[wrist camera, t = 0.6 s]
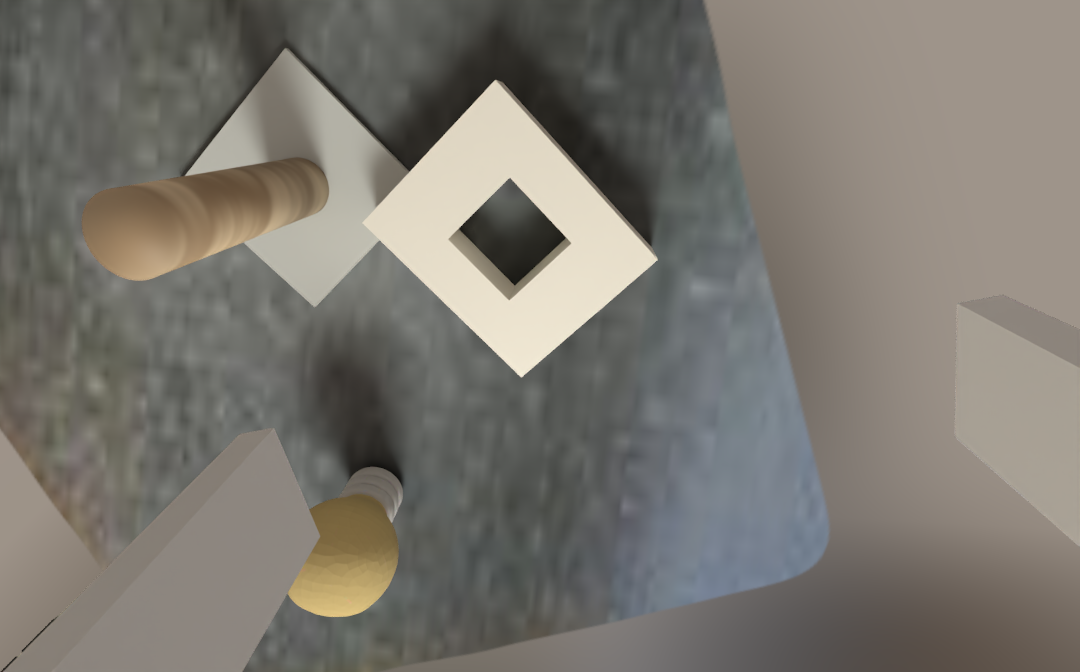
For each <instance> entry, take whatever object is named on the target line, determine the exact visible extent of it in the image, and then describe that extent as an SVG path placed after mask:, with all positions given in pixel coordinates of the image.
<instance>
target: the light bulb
mask: <svg viewBox="0 0 1080 672" xmlns="http://www.w3.org/2000/svg"><path fill="white" fill-rule="evenodd" d="M402 498H403V490H402V486H401V484H400V482H399V480H398V479H397V477H395V476H394V475H393V474H392V473H391V472H389V471H387V470H385V469H382V468H378V467H366V468H363V469H361V470H359V471H357V472H356V473H354V474H353V476H352V477H351V478H350V480H349V481H348V483H347V485H346V486H345V488H344V490H343V492H342V493H341V494H340V496H339V497H338V498H335V499H331V500H328V501H325V502H323V503H320V504H318V505H316V506H314V507H313V508H311V509H309V511H310V513H311V516H312V518H313V520H314V523H315V525H316V527H317V530H318V532H319V534H320V538H319V540H318V541H317V543H316V545H315V546H314V548H313V550H312V552H311V553H310V555H309V557H308V559H307V560H306V562H305V564H304V565H303V567H302V569H301V571H300V572H299V574H298V576H297V578H296V579H295V581H294V583H293V585H292V586H291V588H290V590H289V591H288V594H289V596H290V598H291V599H292V600H293V601H294V602H295V603H296V604H297V605H298V606H300V607H301V608H303V609H305V610H307V611H310V612H312V613H315V614H317V615H322V616H329V617H342V616H351V615H355V614H358V613H360V612H362V611H364V610H366V609H367V608H368V607H370V606H371V605H372V604H373V603H374V602H375V601H376V600H378V599H379V598H380V596H381V595H382V594H383V593H384V591H385V590H386V588H387V587H388V586H389V584H390V582H391V580H392V578H393V575H394V573H395V570H396V567H397V562H398V553H399V550H398V540H397V536H396V532H395V529H394V527H393V525H392V522H393V519H394V517H395V515H396V513H397V511H398V508H399V506H400V504H401V502H402Z"/></svg>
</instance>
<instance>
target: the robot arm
mask: <svg viewBox="0 0 1080 672" xmlns="http://www.w3.org/2000/svg"><path fill="white" fill-rule="evenodd" d="M956 337H957V339H956V341H957V342H956V392H955V393H956V394H955V438H957V439H958V440H959V441H960V442H961V443H962V444H963V445H965V446H966V447H967V448H968V449H969V450H970V451H971V452H972V453H974V454H975V455H976V456H977V457H978V458H979V459H980V460H982V461H983V462H984V463H985V464H986V465H987V466H988V467H989V468H991V469H992V470H993V471H994V472H995V473H997V475H999V476H1000V477H1001V478H1002V479H1003V480H1004V481H1006V482H1007V483H1008V484H1009V485H1010V486H1011V487H1012V488H1013V489H1014V490H1016V491H1017V492H1018V493H1019V494H1020V495H1021V496H1022V497H1024V498H1025V499H1026V500H1027V501H1028V502H1029V503H1030V504H1032V505H1033V506H1034V507H1035V508H1036V509H1037V510H1038V511H1040V512H1041V513H1042V514H1043V515H1044V516H1045V517H1046V518H1047V519H1049V520H1050V521H1051V522H1052V523H1053V524H1054V525H1055V526H1057V527H1058V528H1059V529H1060V530H1061V531H1062V532H1063V533H1065V534H1066V535H1067V536H1068V537H1069V538H1070V539H1071V540H1072V541H1074V542H1075V543H1076V544H1077V545H1078V546H1079V547H1080V329H1078V328H1076V327H1074V326H1071V325H1069V324H1067V323H1064V322H1062V321H1060V320H1058V319H1056V318H1054V317H1051V316H1049V315H1047V314H1045V313H1042V312H1040V311H1038V310H1036V309H1034V308H1031V307H1029V306H1027V305H1024V304H1022V303H1020V302H1018V301H1016V300H1014V299H1011V298H1009V297H1007V296H1004V295H1000V296H994V297H989V298H983V299H979V300H972V301H967V302H962V303H958V304H957V336H956ZM319 538H320V534H319V532H318V530H317V527H316V525H315V523H314V520H313V518H312V516H311V513H310V511H309V509H308V506H307V504H306V502H305V499H304V497H303V494H302V492H301V490H300V487H299V485H298V483H297V480H296V478H295V476H294V473H293V471H292V469H291V466H290V464H289V462H288V459H287V457H286V455H285V452H284V450H283V448H282V445H281V443H280V441H279V438H278V436H277V434H276V431H275V429H274V428H271V429H265V430H260V431H254V432H249V433H243V434H239V435H238V436H237V437H236V438H235V439H234V440H233V441H232V442H231V443H230V444H229V445H228V446H227V447H226V448H225V449H224V450H223V451H222V452H221V453H220V454H219V455H218V456H217V457H216V458H215V459H214V460H213V461H212V462H211V463H210V464H209V465H208V466H207V467H206V468H205V469H204V470H203V471H202V472H201V473H200V474H199V475H198V476H197V477H196V478H195V479H194V480H193V481H192V482H191V483H190V484H189V485H188V486H187V487H186V489H185V490H184V491H183V492H182V493H181V494H180V495H179V496H178V497H177V498H176V499H175V500H174V501H173V502H172V503H171V504H170V505H169V506H168V507H167V508H166V509H165V510H164V511H163V512H162V513H161V514H160V515H159V516H158V517H157V518H156V519H155V520H154V521H153V522H152V523H151V524H150V525H149V526H148V527H147V528H146V529H145V530H144V531H143V532H142V533H141V534H140V535H139V536H138V537H137V538H136V539H135V540H134V541H133V542H132V543H131V544H130V545H129V546H128V547H127V548H126V549H125V550H124V551H123V552H122V553H121V554H120V555H119V556H118V557H117V558H116V559H115V560H114V561H113V562H112V563H111V564H110V565H109V566H108V567H107V568H106V569H105V570H104V571H103V572H102V573H101V574H100V575H99V576H98V577H97V578H96V579H95V580H94V581H93V582H92V583H91V584H90V585H89V586H88V587H87V588H86V589H85V590H84V591H83V592H82V593H81V594H80V595H79V596H78V597H77V598H76V599H75V600H74V601H73V602H72V603H71V604H70V605H69V606H68V607H67V608H66V609H65V610H64V611H63V612H62V613H61V614H60V615H59V616H57V617H56V618H55V619H53V620H52V621H51V622H50V623H49V624H48V625H47V626H46V627H45V628H44V629H43V630H42V631H41V632H40V633H39V634H38V635H37V636H36V637H35V638H34V639H33V640H32V641H31V642H30V643H29V644H28V645H27V646H26V647H25V648H24V649H23V650H22V653H21V654H20V655H19V656H18V657H15V658H14V659H13V660H12V661H11V662H10V663H9V664H8V665H7V666H6V667H5V668H4V669H3V670H2V671H1V672H242V671H243V669H244V668H245V666H246V664H247V662H248V661H249V659H250V657H251V655H252V654H253V652H254V650H255V649H256V647H257V645H258V643H259V642H260V640H261V638H262V636H263V635H264V633H265V631H266V630H267V628H268V626H269V624H270V623H271V621H272V619H273V617H274V616H275V614H276V612H277V610H278V609H279V607H280V605H281V604H282V602H283V600H284V598H285V597H286V595H287V593H288V591H289V590H290V588H291V586H292V585H293V583H294V581H295V579H296V578H297V576H298V574H299V572H300V571H301V569H302V567H303V565H304V564H305V562H306V560H307V559H308V557H309V555H310V553H311V552H312V550H313V548H314V546H315V545H316V543H317V541H318V540H319Z"/></svg>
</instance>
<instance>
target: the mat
mask: <svg viewBox="0 0 1080 672" xmlns="http://www.w3.org/2000/svg"><path fill="white" fill-rule="evenodd" d="M296 157H298V158H304V159H307V160H310V161H312V162H313V163H315V164H316V165H317V166H318V167H319V168H320V169H321V170H322V171H323V173H324V174H325V176H326V178H327V181H328V184H329V197H328V200H327V203H326V205H325V206H324V207H323V209H322V210H320V211H319V212H318V213H316V214H313V215H311V216H308V217H306V218H303V219H301V220H298V221H296V222H293V223H291V224H288V225H286V226H283V227H281V228H278V229H276V230H273V231H270V232H268V233H265V234H263V235H260V236H258V237H255V238H253V239H250V240H248V241H245V242H244V243H245V244H246V245H247V246H248V247H249V248H250V249H251V250H252V251H253V252H255V253H256V254H257V255H258V256H259V257H260V258H261V259H262V260H263V261H264V262H266V263H267V264H268V265H269V266H270V267H271V268H272V269H273V270H274V271H275V272H276V273H278V274H279V275H280V276H281V277H282V278H283V279H284V280H285V281H286V282H287V283H289V284H290V285H291V286H292V287H293V288H294V289H295V290H296V291H297V292H298V293H300V294H301V295H302V296H303V297H304V298H305V299H306V300H307V301H308V302H309V303H311V304H312V305H313V306H314V307H316V306H317V305H318V304H319V303H320V302H321V301H322V300H323V299H324V298H325V297H326V296H327V295H328V294H329V293H330V292H331V291H332V290H333V288H334V287H335V286H336V285H337V284H338V283H339V282H340V281H341V280H342V279H343V278H344V277H345V276H346V275H347V274H348V273H349V272H350V271H351V270H352V269H353V267H354V266H355V265H356V264H357V263H358V262H359V261H360V260H361V259H362V258H363V257H364V256H365V255H366V254H367V253H368V252H369V251H370V250H371V249H372V248H373V247H374V245H375V244H376V243H377V242H378V241H379V239H378V238H377V237H376V236H375V235H374V234H373V233H372V232H371V231H370V230H369V229H368V228H367V227H366V226H365V225H364V224H363V223H362V222H363V221H364V220H365V219H366V218H367V217H368V216H369V215H370V214H371V213H372V212H373V211H374V210H375V209H376V207H377V206H378V205H379V204H380V203H381V202H382V201H383V200H384V199H385V198H386V197H387V196H388V195H389V193H390V192H391V191H392V190H393V189H394V188H395V187H396V186H397V185H398V184H399V183H400V182H401V181H402V180H403V178H404V177H405V176H406V175H407V174H408V173H409V171H408V170H407V169H406V168H405V167H404V166H403V165H402V164H401V162H400V161H399V160H398V159H397V158H396V157H395V156H394V155H393V154H392V153H391V152H390V151H389V150H388V149H387V148H386V147H385V146H384V145H383V144H382V143H381V142H380V141H379V140H378V139H377V138H376V137H375V136H374V135H373V134H372V133H371V132H370V131H369V130H368V129H367V128H366V127H365V126H364V125H363V124H362V123H361V122H360V121H359V120H358V119H357V118H356V117H355V116H354V115H353V114H352V113H351V112H350V111H349V110H348V109H347V108H346V107H345V106H344V105H343V104H342V103H341V101H340V100H339V99H338V98H337V97H336V96H335V95H334V94H333V93H332V92H331V91H330V90H329V89H328V88H327V87H326V86H325V85H324V84H323V83H322V82H321V81H320V80H319V79H318V78H317V77H316V76H315V75H314V74H313V73H312V72H311V71H310V70H309V69H308V68H307V67H306V66H305V65H304V64H303V63H302V62H301V61H300V60H299V59H298V58H297V57H296V56H295V55H294V54H293V53H292V52H291V51H290V50H289V49H287V48H285V49H284V50H283V51H282V53H281V54H280V55H279V57H278V58H277V59H276V60H275V62H274V63H273V64H272V65H271V67H270V68H269V69H268V71H267V72H266V73H265V74H264V76H263V77H262V78H261V79H260V81H259V82H258V83H257V85H256V86H255V87H254V88H253V90H252V91H251V92H250V93H249V95H248V96H247V97H246V99H245V100H244V101H243V102H242V104H241V105H240V106H239V107H238V109H237V110H236V111H235V113H234V114H233V115H232V116H231V118H230V119H229V120H228V121H227V123H226V124H225V125H224V127H223V128H222V129H221V130H220V132H219V133H218V134H217V135H216V137H215V138H214V139H213V141H212V142H211V143H210V144H209V146H208V147H207V148H206V149H205V151H204V152H203V153H202V155H201V156H200V157H199V158H198V160H197V161H196V162H195V163H194V165H193V166H192V167H191V169H190V170H189V171H188V172H187V174H186V175H185V176H188V175H194V174H200V173H206V172H212V171H218V170H224V169H230V168H235V167H241V166H247V165H253V164H259V163H265V162H271V161H277V160H283V159H289V158H296Z"/></svg>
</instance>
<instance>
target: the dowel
mask: <svg viewBox="0 0 1080 672" xmlns="http://www.w3.org/2000/svg"><path fill="white" fill-rule="evenodd" d="M328 197H329V184H328V181H327V178H326V176H325V174H324V173H323V171H322V170H321V169H320V168H319V167H318V166H317V165H316V164H315V163H313V162H312V161H310V160H307V159H304V158H298V157H296V158H289V159H283V160H277V161H271V162H265V163H259V164H253V165H247V166H241V167H235V168H230V169H224V170H218V171H212V172H206V173H200V174H194V175H188V176H182V177H176V178H170V179H165V180H159V181H153V182H147V183H141V184H135V185H129V186H123V187H117V188H111V189H106V190H103V191H101V192H99V193H97V194H95V195H94V196H93V197H92V198H91V199H90V200H89V201H88V203H87V205H86V206H85V209H84V211H83V216H82V230H83V235H84V238H85V241H86V243H87V246H88V248H89V249H90V251H91V253H92V254H93V255H94V257H95V258H96V259H97V260H98V261H99V262H100V263H101V264H102V265H103V266H104V267H105V268H106V269H108V270H109V271H111V272H112V273H114V274H116V275H118V276H120V277H123V278H126V279H130V280H148V279H151V278H154V277H157V276H159V275H162V274H164V273H167V272H170V271H172V270H175V269H177V268H180V267H182V266H185V265H187V264H190V263H192V262H195V261H197V260H200V259H202V258H205V257H207V256H210V255H212V254H215V253H217V252H220V251H223V250H225V249H228V248H230V247H233V246H235V245H238V244H240V243H243V242H245V241H248V240H250V239H253V238H255V237H258V236H260V235H263V234H265V233H268V232H270V231H273V230H276V229H278V228H281V227H283V226H286V225H288V224H291V223H293V222H296V221H298V220H301V219H303V218H306V217H308V216H311V215H313V214H316V213H318V212H319V211H320V210H322V209H323V207H324V206H325V205H326V203H327V200H328Z"/></svg>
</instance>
